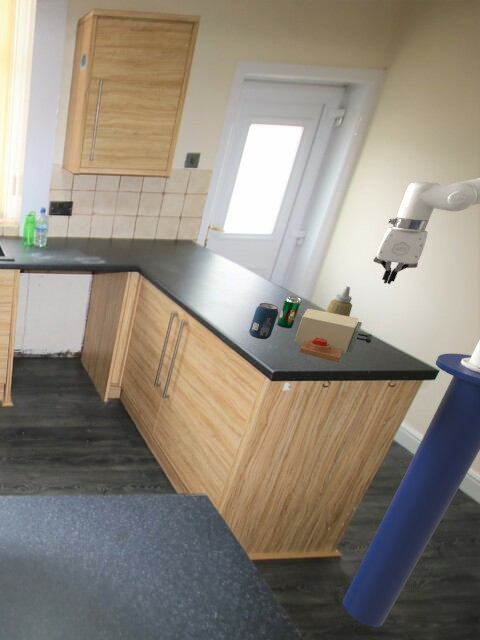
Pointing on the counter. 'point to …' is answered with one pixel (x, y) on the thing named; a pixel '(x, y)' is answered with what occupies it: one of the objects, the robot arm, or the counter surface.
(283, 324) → the soda can
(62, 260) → the counter surface
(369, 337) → the grey piece
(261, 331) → the soda can
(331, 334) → the cream appliance housing
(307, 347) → the control block
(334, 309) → the squeeze bottle
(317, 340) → the button
